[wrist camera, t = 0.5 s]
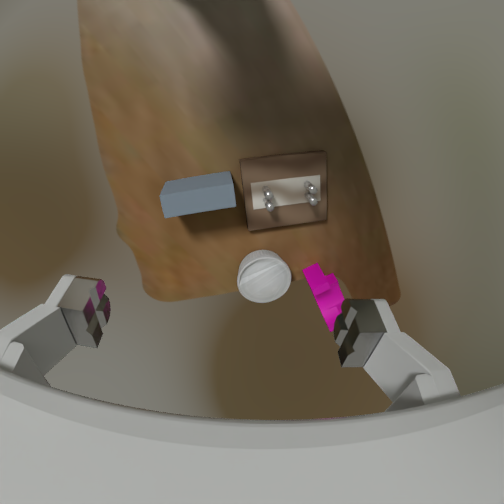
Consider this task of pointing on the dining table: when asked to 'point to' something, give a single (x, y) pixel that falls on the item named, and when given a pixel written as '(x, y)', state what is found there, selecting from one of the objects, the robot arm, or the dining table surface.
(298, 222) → the peg stand
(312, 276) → the toy block
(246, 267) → the ramekin
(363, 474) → the robot arm
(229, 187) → the slate block
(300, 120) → the dining table surface
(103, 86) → the dining table surface
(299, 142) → the dining table surface
